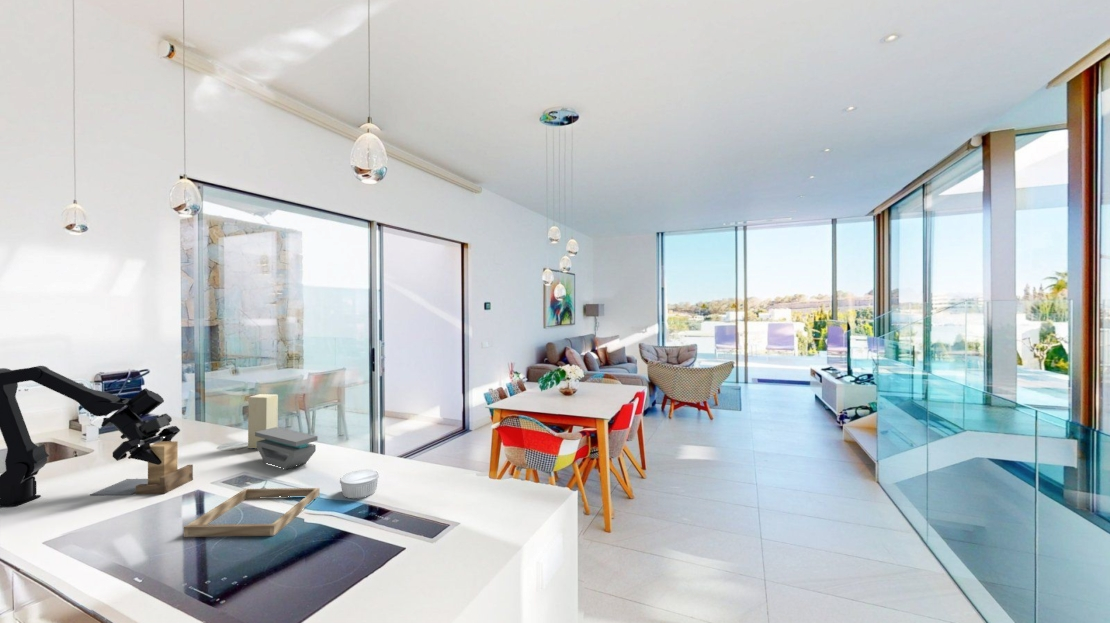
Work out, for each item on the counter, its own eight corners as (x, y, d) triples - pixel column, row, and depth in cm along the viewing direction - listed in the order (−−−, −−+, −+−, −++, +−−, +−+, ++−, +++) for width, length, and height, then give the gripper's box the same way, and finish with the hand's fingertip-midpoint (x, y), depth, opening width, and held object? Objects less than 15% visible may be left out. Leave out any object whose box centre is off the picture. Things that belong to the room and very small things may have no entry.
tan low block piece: (164, 493, 135) (164, 477, 135) (135, 494, 135) (135, 477, 135) (192, 479, 146) (192, 464, 146) (166, 480, 146) (166, 464, 146)
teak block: (164, 484, 138) (164, 446, 138) (147, 484, 138) (147, 446, 138) (177, 478, 143) (177, 441, 143) (161, 478, 143) (161, 441, 143)
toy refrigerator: (279, 444, 184) (279, 393, 184) (266, 449, 177) (266, 397, 176) (261, 443, 185) (261, 393, 184) (247, 449, 177) (247, 397, 177)
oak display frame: (274, 535, 111) (273, 525, 111) (183, 536, 110) (183, 526, 110) (319, 496, 134) (319, 488, 134) (245, 497, 133) (245, 488, 133)
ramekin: (364, 502, 130) (364, 484, 130) (331, 498, 132) (331, 481, 132) (386, 487, 141) (386, 470, 141) (355, 484, 143) (355, 468, 143)
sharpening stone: (255, 461, 164) (255, 432, 164) (276, 455, 171) (276, 426, 171) (296, 473, 152) (295, 442, 152) (317, 466, 159) (317, 436, 159)
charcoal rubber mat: (131, 494, 134) (131, 493, 134) (90, 495, 134) (90, 494, 134) (164, 479, 146) (164, 478, 146) (127, 479, 146) (127, 478, 146)
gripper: (122, 415, 131) (160, 452, 131) (174, 401, 149) (207, 434, 150) (94, 441, 131) (133, 478, 131) (150, 425, 149) (184, 457, 150)
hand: (167, 460), depth 140 cm, fingers closed on teak block, 5 cm apart
